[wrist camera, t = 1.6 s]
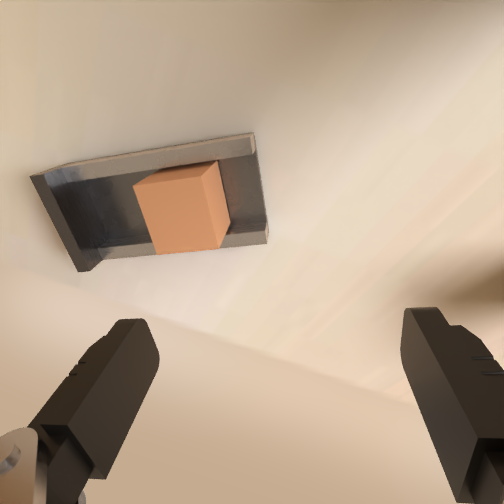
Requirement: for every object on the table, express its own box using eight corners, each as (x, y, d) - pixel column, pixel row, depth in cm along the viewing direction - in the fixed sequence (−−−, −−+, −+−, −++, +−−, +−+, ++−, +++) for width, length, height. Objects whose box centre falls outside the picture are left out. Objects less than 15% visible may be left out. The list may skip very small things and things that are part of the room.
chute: (253, 132, 24) (246, 141, 20) (268, 231, 28) (265, 255, 24) (67, 163, 27) (29, 176, 23) (105, 248, 31) (78, 272, 27)
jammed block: (217, 160, 24) (201, 176, 20) (230, 222, 27) (218, 248, 23) (160, 168, 25) (132, 185, 21) (178, 228, 28) (157, 254, 23)
